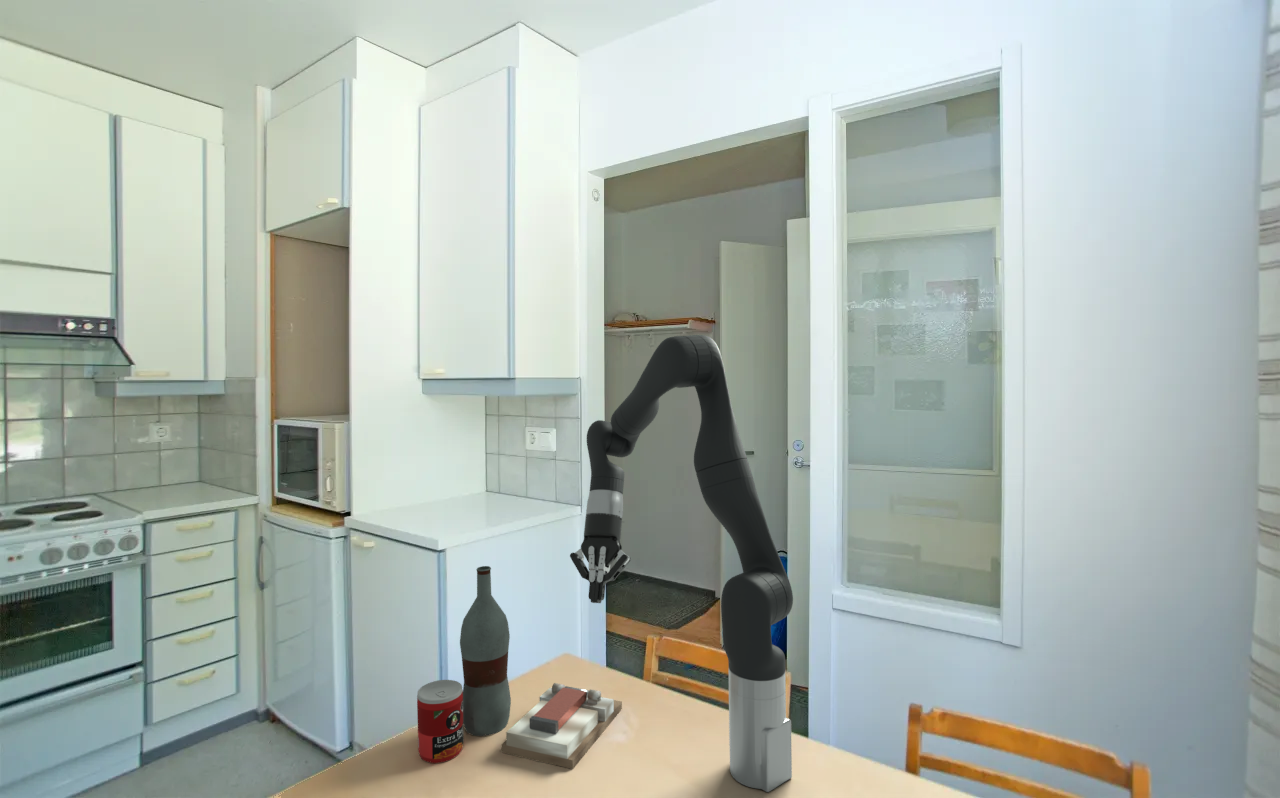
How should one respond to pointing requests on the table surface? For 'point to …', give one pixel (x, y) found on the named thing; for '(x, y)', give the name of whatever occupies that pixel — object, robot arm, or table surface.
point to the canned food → (440, 720)
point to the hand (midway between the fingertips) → (596, 602)
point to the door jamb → (562, 731)
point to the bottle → (485, 662)
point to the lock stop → (558, 709)
